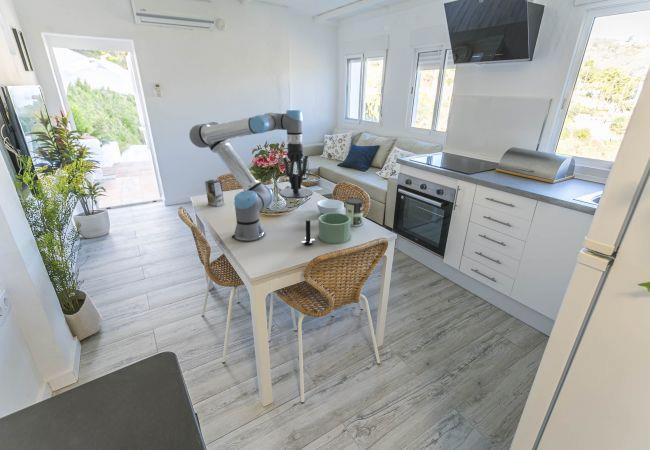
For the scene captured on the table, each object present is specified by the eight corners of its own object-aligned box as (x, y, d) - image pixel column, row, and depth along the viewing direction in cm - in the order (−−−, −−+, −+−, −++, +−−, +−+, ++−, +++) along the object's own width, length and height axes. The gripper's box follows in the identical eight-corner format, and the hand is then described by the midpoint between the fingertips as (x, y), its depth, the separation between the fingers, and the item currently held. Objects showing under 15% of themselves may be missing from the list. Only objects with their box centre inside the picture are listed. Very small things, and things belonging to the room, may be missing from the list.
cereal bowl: (342, 219, 191) (342, 208, 188) (315, 217, 193) (315, 206, 190) (344, 209, 206) (345, 199, 204) (319, 208, 209) (319, 198, 206)
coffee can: (362, 220, 190) (364, 198, 184) (361, 227, 181) (362, 204, 175) (346, 219, 192) (346, 197, 186) (343, 225, 182) (344, 202, 177)
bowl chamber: (327, 245, 158) (327, 226, 154) (313, 233, 172) (313, 215, 168) (355, 239, 165) (356, 221, 161) (340, 228, 179) (341, 211, 175)
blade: (304, 247, 156) (303, 223, 151) (299, 242, 162) (298, 218, 157) (317, 245, 159) (317, 221, 154) (311, 239, 165) (311, 216, 160)
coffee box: (224, 204, 214) (221, 181, 208) (217, 206, 209) (213, 183, 203) (215, 201, 219) (212, 179, 212) (207, 204, 214) (204, 181, 207)
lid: (285, 201, 154) (284, 179, 150) (274, 191, 169) (273, 171, 165) (318, 197, 162) (318, 175, 157) (305, 187, 176) (305, 168, 172)
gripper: (281, 144, 148) (283, 192, 158) (312, 143, 155) (312, 188, 164) (276, 142, 155) (278, 188, 164) (307, 140, 161) (307, 185, 170)
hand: (295, 188), depth 164 cm, fingers closed on lid, 3 cm apart
